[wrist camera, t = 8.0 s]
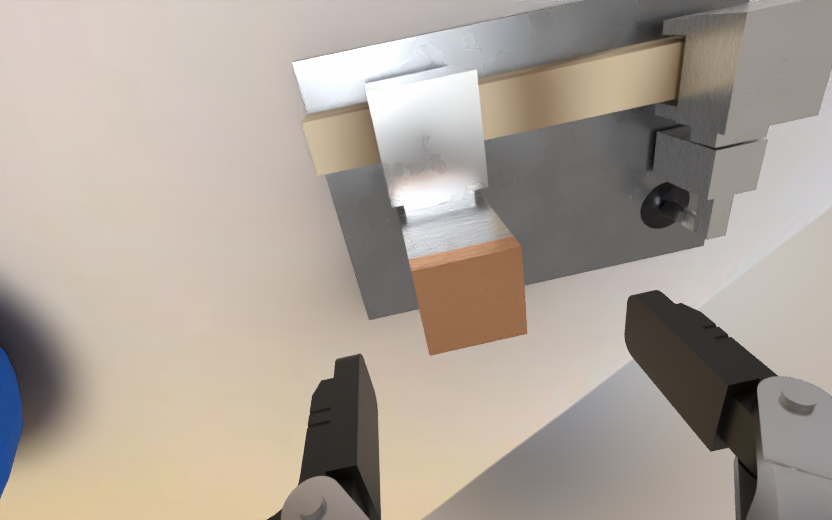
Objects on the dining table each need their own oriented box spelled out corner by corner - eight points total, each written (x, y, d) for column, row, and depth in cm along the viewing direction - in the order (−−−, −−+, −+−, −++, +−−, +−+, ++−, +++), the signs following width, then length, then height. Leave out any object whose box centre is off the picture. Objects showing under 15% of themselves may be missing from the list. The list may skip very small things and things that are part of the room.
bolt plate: (738, -32, 20) (756, -36, 19) (692, 239, 27) (704, 245, 26) (294, 61, 20) (291, 62, 19) (369, 310, 27) (369, 320, 26)
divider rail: (745, 21, 20) (789, 19, 18) (735, 73, 21) (776, 77, 19) (307, 114, 20) (301, 123, 18) (321, 162, 21) (317, 176, 19)
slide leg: (448, 61, 19) (519, 80, 11) (473, 257, 24) (534, 376, 16) (364, 79, 19) (368, 112, 11) (407, 272, 24) (433, 398, 16)
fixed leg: (734, 1, 19) (854, -11, 15) (699, 207, 25) (779, 247, 20) (652, 18, 19) (747, 11, 15) (635, 221, 25) (700, 264, 20)
